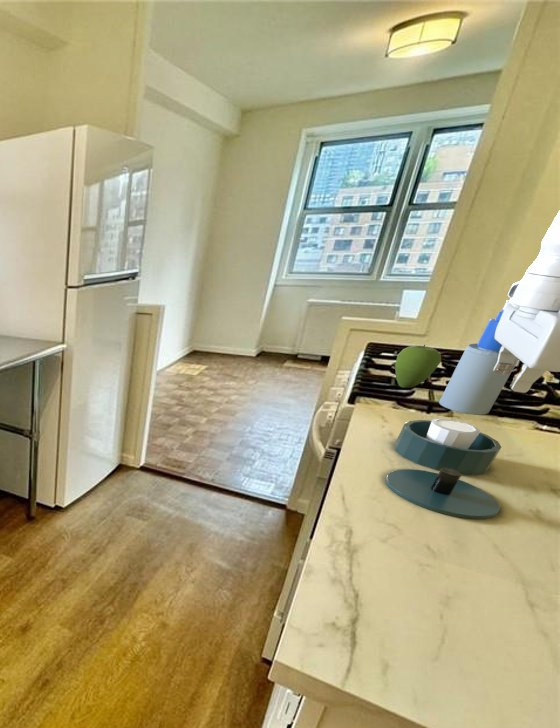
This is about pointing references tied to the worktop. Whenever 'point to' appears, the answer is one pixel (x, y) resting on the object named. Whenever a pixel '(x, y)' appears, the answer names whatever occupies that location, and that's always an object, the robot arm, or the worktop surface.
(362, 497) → the worktop surface
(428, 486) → the lid
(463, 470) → the pot
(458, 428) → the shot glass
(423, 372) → the green mango
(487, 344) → the spray bottle
